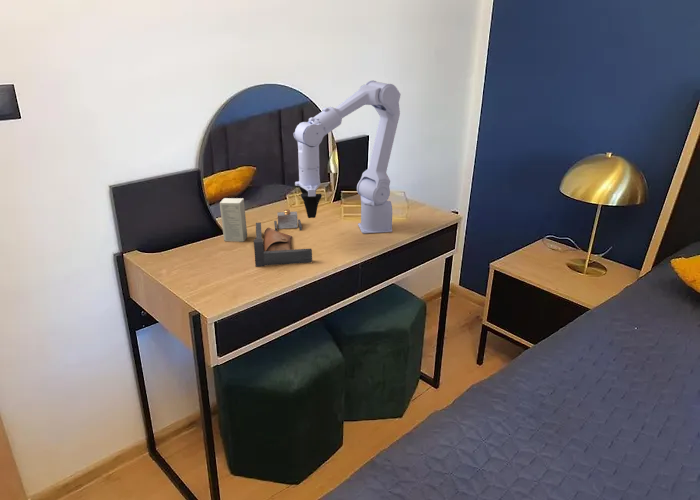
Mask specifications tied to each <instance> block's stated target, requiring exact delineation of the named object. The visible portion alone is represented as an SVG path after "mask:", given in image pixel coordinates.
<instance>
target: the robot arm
mask: <svg viewBox="0 0 700 500" xmlns="http://www.w3.org/2000/svg"><path fill="white" fill-rule="evenodd" d="M400 99H401V93H400V91H399V89H398V88H397V86H396V85H395V84H393V83H385V82H379V81H376V80H369V81H367V82H366V83H365V84H363V85H361V86H360V87H359V89H358V90H356V91H355V92H354V93H353V94H351V95H350V96H348V97H347V98H346V99H345V100H344V101H342V102H341V103H340V104H338V105H337V106H336V107H333V106H327V107H326V106H325V107H323V108H322V109H321V110H322V111H320V112H319V113H318V114H316V115H315V116H313V117H309V118H308V121H302V122H299V124H297V125H296V127H295V130H294V132H293V133H292V134H293V138H294V140H295V141H296V143H297V149H298V151H297V153H298V154H297V155H298V159H297V160H298V181H295V182H294V186H296V187H298V188H299V190H300V192H301V193H300V197H301V199H302V200H303V204H304V208H305V212H306V214H307V218H308V219H314V218H315V219H316V217H317V211H318V206H319V203H320V201H321V199H322V193H317V189H318V188H319V187H320V186H321V180H320V179H321V177H320V144H321V143H322V142H323V139H324V137H325V136H326V135H328V134H329V133H331V132H332V131H333V130H336V128H338V127H340V126H341V125H342V121H343V119H344V118H345V117H347V116H349V115H350V114H352V113H353V112H355V111H357V110H358V109H360V108H362V107H363V106H365V105H366V106H372V107H373V108H374V109H375V110H376V112H377V114H378V115H379V120H378V124H377V127H376V128H377V129H376V134H375V137H374V142H373V146H372V152H371V155H370V160H369V165H368V168H367V169H365V170H364V171H363V172H362V174H361V177H360V180H359V181H358V183H357V185H356V192H357V194H358V196H360V205H361V206H360V208H361V209H360V222H359V223H357V226H358V227H359V230H360V231H361V233H362V234H375V233H376V234H377V233H379V234H380V233H392V232H393V204H392V201H391V200H389V199H390V194H391V190H390V184H391V180H390V177H389V176H388V174H387V173H388V172H387V171H388V167H389V163H390V157H391V154H392V148H393V145H394V141H395V137H396V133H397V128H398V123H399V120H400V114H401V111H400Z"/></svg>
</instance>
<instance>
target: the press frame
mask: <svg viewBox="0 0 700 500" xmlns="http://www.w3.org/2000/svg"><path fill="white" fill-rule="evenodd" d="M297 220H298V229H299V231H303V227H302V222H301V219H297ZM273 224H274V230H275V231H277V232H278V220H274V223H273ZM263 242H264V238H263V235H262V222H255V238H253V249H254V263H255V268H257V267H259V268H260V267H266V266H277V265H278V266H279V265H292V264H293V265H294V264H295V265H296V264H297V265H298V264H309V263H310V264H311V262H312V263H313V249H312V248H298V249H296V248H295V249H291V250H278V251H264V248H263Z"/></svg>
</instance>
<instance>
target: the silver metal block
mask: <svg viewBox="0 0 700 500" xmlns="http://www.w3.org/2000/svg"><path fill="white" fill-rule="evenodd" d="M298 220H299V219H298V212H297V211H291V210H290V209H285V210H284V211H282V212H281V211H280V212H278V211H277V230H279V229H297V228H298V229H299V225H298Z"/></svg>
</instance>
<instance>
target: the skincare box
mask: <svg viewBox="0 0 700 500" xmlns="http://www.w3.org/2000/svg"><path fill="white" fill-rule="evenodd" d="M219 209H220V216H221V217H220V218H221V225H222V233H223V241H224V242H245V241H246V239H247V237H248V228H247V218H246V207H245V199H244V198H243V197H242V198H241V197H240V198H238V197H236V198H235V197H231V198H230V197H229V198H228V197H224V198H223V199H221V201H220V202H219Z"/></svg>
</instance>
